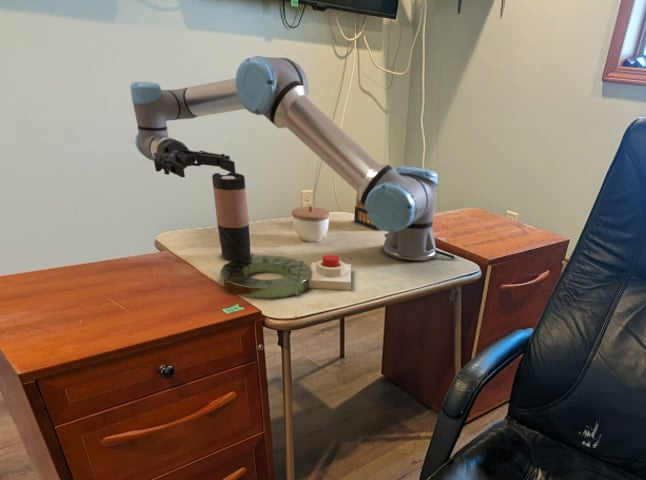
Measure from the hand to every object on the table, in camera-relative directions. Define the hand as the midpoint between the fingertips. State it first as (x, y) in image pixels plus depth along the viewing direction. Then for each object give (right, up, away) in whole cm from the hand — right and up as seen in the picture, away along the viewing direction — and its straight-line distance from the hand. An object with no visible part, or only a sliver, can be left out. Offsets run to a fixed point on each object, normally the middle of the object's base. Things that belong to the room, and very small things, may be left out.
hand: (209, 169), depth 130 cm
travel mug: (+5, -20, +6) cm, 22 cm away
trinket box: (+21, -10, +24) cm, 33 cm away
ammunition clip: (+37, -1, +40) cm, 54 cm away
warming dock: (+16, -29, -5) cm, 34 cm away
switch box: (+31, -28, -1) cm, 42 cm away
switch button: (+31, -25, -3) cm, 40 cm away
